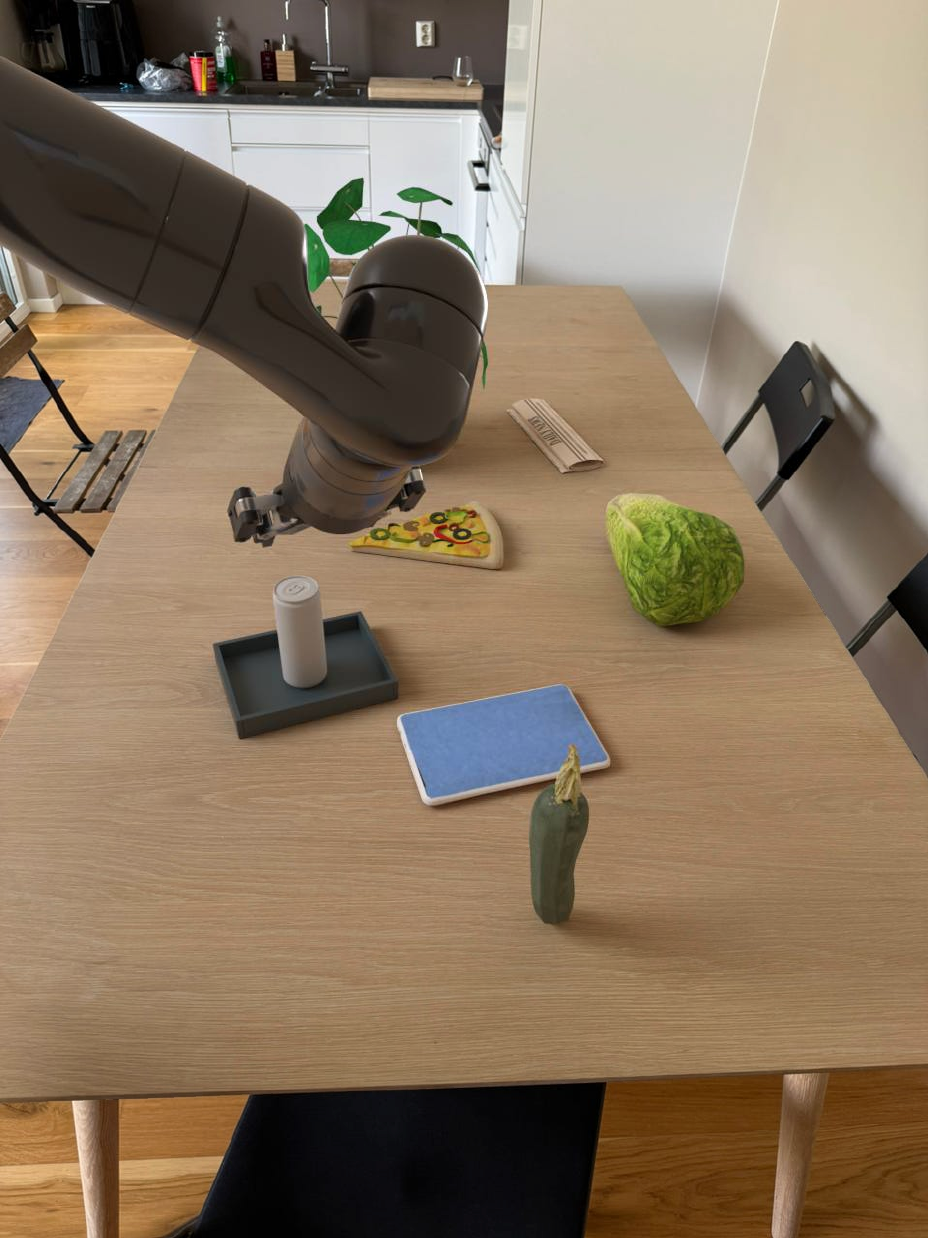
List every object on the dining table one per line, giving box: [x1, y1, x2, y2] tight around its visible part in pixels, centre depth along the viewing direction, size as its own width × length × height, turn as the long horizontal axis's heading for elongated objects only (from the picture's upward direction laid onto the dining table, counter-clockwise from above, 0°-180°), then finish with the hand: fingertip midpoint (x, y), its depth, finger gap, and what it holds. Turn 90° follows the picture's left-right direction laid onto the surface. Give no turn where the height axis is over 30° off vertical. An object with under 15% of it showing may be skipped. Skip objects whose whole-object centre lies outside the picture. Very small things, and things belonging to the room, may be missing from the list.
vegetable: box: [528, 744, 590, 926], centre depth 69 cm, size 4×4×20 cm
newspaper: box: [506, 398, 605, 474], centre depth 146 cm, size 24×7×2 cm, turn 19°
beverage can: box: [272, 574, 327, 689], centre depth 94 cm, size 5×5×12 cm
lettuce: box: [604, 492, 745, 628], centre depth 112 cm, size 14×24×14 cm
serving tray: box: [212, 610, 400, 740], centre depth 97 cm, size 17×13×2 cm
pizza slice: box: [347, 500, 504, 570], centre depth 119 cm, size 16×21×3 cm
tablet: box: [396, 683, 611, 807], centre depth 90 cm, size 19×13×1 cm, turn 107°
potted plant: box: [303, 177, 489, 390], centre depth 131 cm, size 31×29×40 cm
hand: (315, 525), depth 73 cm, fingers open, 8 cm apart
